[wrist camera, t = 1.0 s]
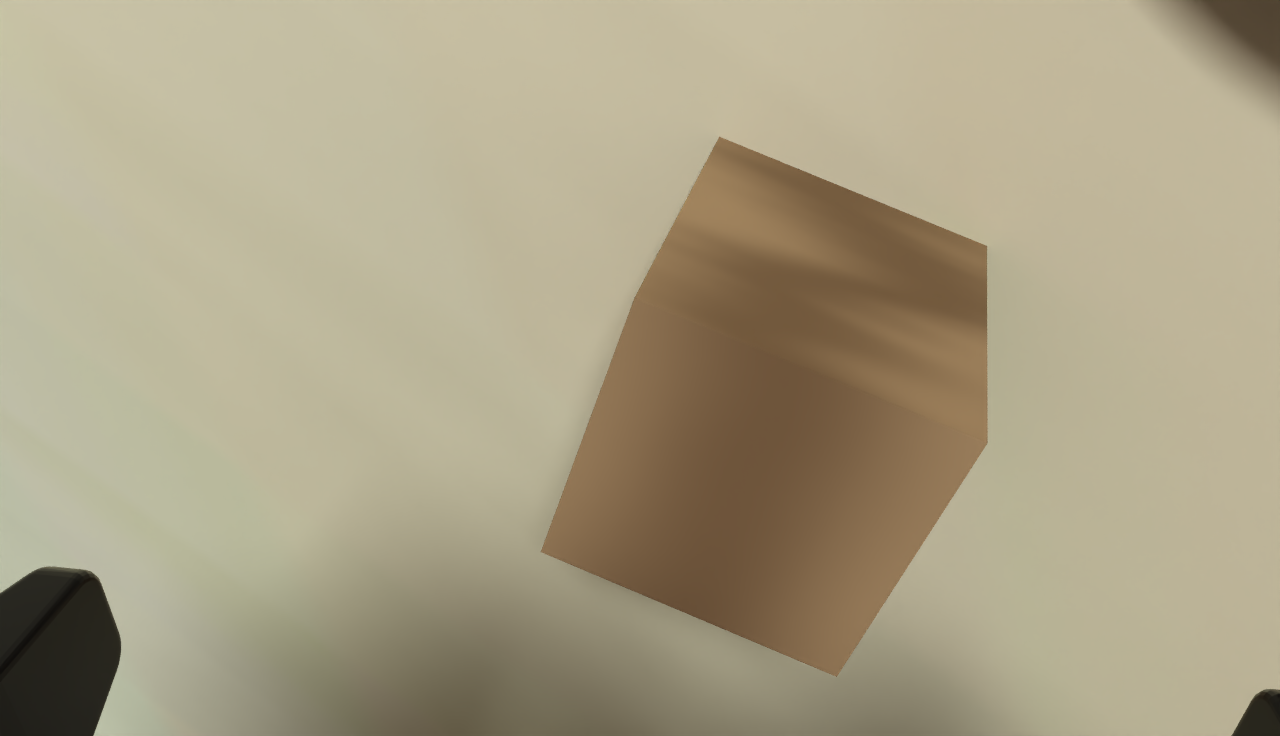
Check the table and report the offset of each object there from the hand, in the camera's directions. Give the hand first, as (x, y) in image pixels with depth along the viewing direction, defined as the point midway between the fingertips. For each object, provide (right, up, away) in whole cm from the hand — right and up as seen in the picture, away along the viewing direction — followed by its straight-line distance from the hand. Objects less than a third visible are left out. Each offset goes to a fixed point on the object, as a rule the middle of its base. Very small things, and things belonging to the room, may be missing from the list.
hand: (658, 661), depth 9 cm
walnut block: (+3, +4, +13) cm, 13 cm away
